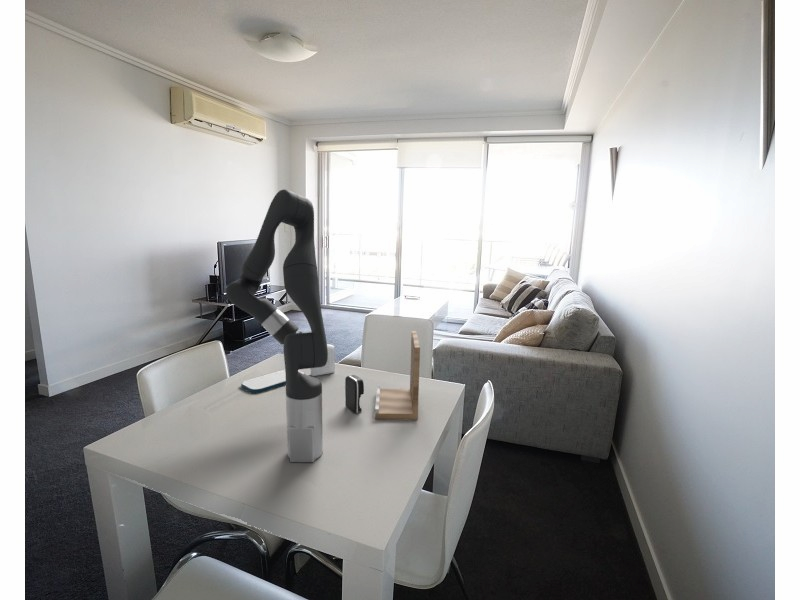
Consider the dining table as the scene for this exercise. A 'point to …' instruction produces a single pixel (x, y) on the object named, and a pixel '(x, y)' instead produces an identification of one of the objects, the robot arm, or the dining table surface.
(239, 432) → the dining table surface
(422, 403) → the dining table surface
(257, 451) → the dining table surface
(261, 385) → the external hard drive
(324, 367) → the photo printer
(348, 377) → the battery charger
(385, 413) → the shelf
